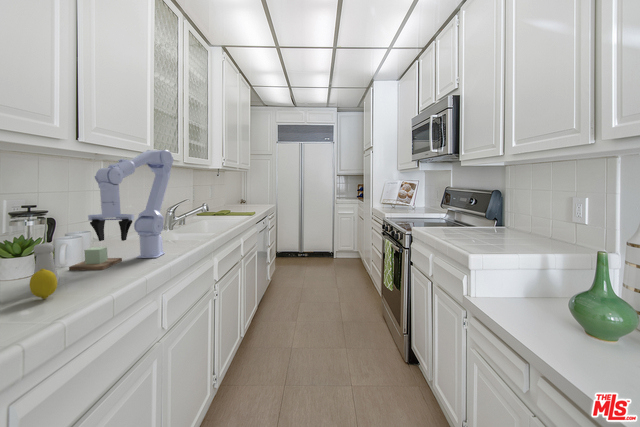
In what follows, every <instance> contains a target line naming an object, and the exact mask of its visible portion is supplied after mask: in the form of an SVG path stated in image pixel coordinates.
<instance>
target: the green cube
mask: <svg viewBox="0 0 640 427" xmlns="http://www.w3.org/2000/svg"><path fill="white" fill-rule="evenodd" d="M108 258H109V257H108V247H107V246H97V247H96V246H94V247H93V246H92V247H89V248H87V249H84V261H85V264H101V263H103V262H105V261H108Z"/></svg>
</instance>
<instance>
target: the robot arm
mask: <svg viewBox="0 0 640 427" xmlns="http://www.w3.org/2000/svg"><path fill="white" fill-rule="evenodd" d="M173 163H174V157H173V156H172V152H171V151H170V150H168V149H159V150H158V149H155V150H154V149H153V150H151V149H148V150H146V151H142V153H140V154H139V155H137V156H135V157H133V158H132V159H128V158H127V159H124V158H120V159H119V160H118V162H116V163H111V164H109V165H108V167H103V168H99V169H98V170H97V171H96V174H95V176H94V179H95V181H96V183H97V185H98V189H99V192H100V193H99V195H100V206H101V207H100V210H101V211H100V214H88V215H87V218H88V221H90V222H89V225H90V226H91V227H92V228H93V230H94V231H95V235H96V236H97V239H98V242H102V241H105V223H106V221H118V222H117V223H118V225H119V229H120V240H121V241H123V242H124V241H127V238H128V232H129V230H130V227H131V226H132V223H133V220H134V223H133V227H134V231H135V232H136V233H137V236H138V237H139V253H140V254H138V255H137V256H136V257H135V259H157V258H159V257H161V256H163V255H164V254H166V251H164V248H163V247H164V244H163V243H164V242H163V237H162V236H161V234H162V232H163V230H164V226H165V225H164V220H165V217H164V216H163V215H162V213H161V210H162V206H163V202H164V199H165V195H166V191H167V188H168V184H169V181H170V178H171V172H172V166H173ZM144 165H146V166H147V167H148V168H149V169H150V170H151V172H153V173H154V180H153V182H152V184H151V188H150V192H149V195H148V199H147V202H146V206H145V209H144V210H143V211H142V212H140V213H138V217H137V218H136V219H135V214H134V213H132V214H131V213H129V214H128V213H122V212H121V200H120V199H121V197H120V196H121V195H120V184H121V183H122V182H123V180H124V179H125V178H127V177H130V175H133V174H134V173H135V172H136V169H137V168H140V167H141V166H144Z"/></svg>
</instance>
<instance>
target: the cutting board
mask: <svg viewBox="0 0 640 427" xmlns="http://www.w3.org/2000/svg"><path fill="white" fill-rule="evenodd" d="M122 261H123V258H122V257H108V261H105V262H103V263H101V264H85V260H84V261H82V262H78V263H75V264H74V265H71V266H68V271H95V270H96V271H100V270H102V271H103V270H105V269H108V268H109V267H112V266H114V265H116V264H118V263H121V262H122Z"/></svg>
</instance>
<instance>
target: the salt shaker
mask: <svg viewBox="0 0 640 427" xmlns="http://www.w3.org/2000/svg"><path fill="white" fill-rule="evenodd" d="M54 250H55V247H54V244H52V243H45V242H44V243H38V244H36V245H34V246H33V252H34V254H36V258H35V265H34V272H33V274H34V273H36V272H37V271H40V270H41V269H45V270H49V271H51V272H53V273H54V274H55V276H56V278H57V286H58V285H59V283H60V277H59V274H58V271H57V268H56V264H55V262H54V261H55V260H54V258H53V254H52V252H54Z"/></svg>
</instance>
